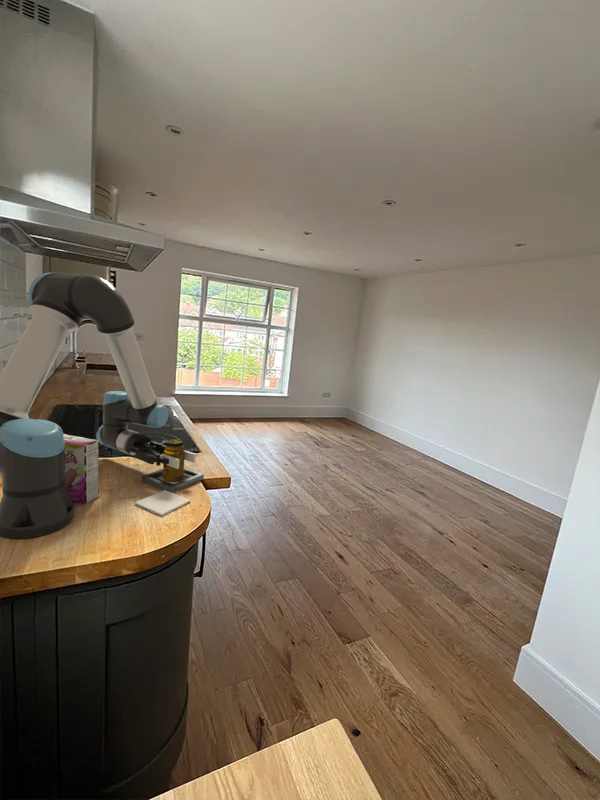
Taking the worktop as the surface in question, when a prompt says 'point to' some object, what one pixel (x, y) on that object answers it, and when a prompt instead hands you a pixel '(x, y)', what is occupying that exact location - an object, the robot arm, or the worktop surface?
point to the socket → (152, 481)
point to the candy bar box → (81, 468)
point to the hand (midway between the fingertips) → (186, 461)
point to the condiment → (177, 451)
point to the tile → (162, 502)
